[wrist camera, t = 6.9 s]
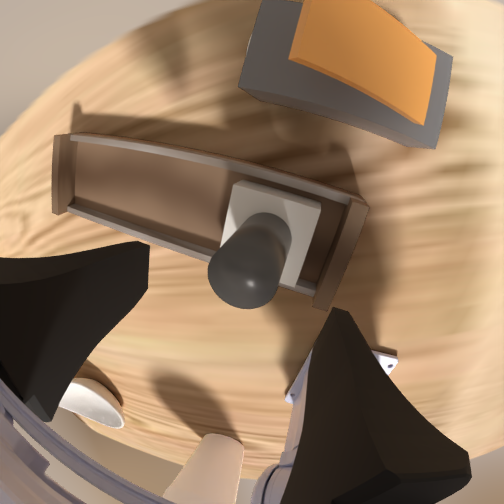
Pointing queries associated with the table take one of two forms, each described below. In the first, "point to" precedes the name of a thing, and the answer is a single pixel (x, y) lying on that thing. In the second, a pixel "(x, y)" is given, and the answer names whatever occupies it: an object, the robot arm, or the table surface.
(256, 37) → the box
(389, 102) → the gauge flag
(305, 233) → the carriage
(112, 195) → the rail
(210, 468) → the foam cup
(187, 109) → the table surface
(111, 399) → the spoon rest
